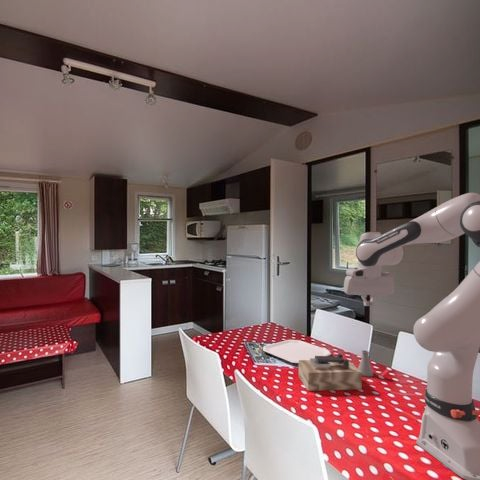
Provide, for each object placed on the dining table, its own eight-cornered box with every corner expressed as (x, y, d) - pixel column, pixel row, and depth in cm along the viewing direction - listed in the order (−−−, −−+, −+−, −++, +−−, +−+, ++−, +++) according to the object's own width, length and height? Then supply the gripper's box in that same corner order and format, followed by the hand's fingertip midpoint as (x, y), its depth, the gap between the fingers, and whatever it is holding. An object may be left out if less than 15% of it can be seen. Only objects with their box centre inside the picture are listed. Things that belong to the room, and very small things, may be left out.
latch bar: (340, 358, 134) (341, 356, 134) (345, 362, 131) (345, 360, 131) (314, 358, 133) (314, 355, 133) (318, 361, 129) (318, 359, 129)
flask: (375, 378, 138) (375, 355, 138) (357, 376, 139) (358, 353, 139) (371, 371, 145) (372, 349, 145) (355, 369, 146) (355, 348, 146)
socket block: (347, 375, 139) (347, 351, 140) (361, 389, 127) (362, 363, 127) (298, 376, 137) (299, 352, 137) (307, 390, 124) (308, 363, 124)
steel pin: (329, 383, 129) (330, 364, 129) (314, 384, 128) (315, 364, 128) (323, 376, 135) (324, 358, 135) (309, 377, 134) (309, 358, 134)
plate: (299, 370, 145) (299, 365, 145) (257, 351, 167) (257, 347, 167) (336, 356, 163) (336, 352, 163) (293, 341, 186) (293, 338, 186)
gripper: (389, 271, 133) (388, 304, 133) (342, 270, 131) (341, 304, 131) (398, 272, 126) (397, 307, 126) (349, 272, 124) (348, 307, 124)
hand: (368, 305), depth 128 cm, fingers closed
